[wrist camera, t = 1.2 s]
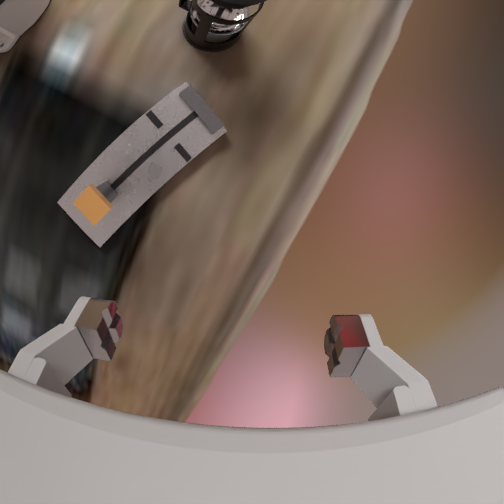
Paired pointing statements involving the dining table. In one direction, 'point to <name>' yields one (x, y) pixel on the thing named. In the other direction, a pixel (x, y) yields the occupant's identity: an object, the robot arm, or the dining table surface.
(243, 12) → the french press
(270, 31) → the dining table surface
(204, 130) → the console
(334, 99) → the dining table surface
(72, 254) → the dining table surface
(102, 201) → the fader tab
